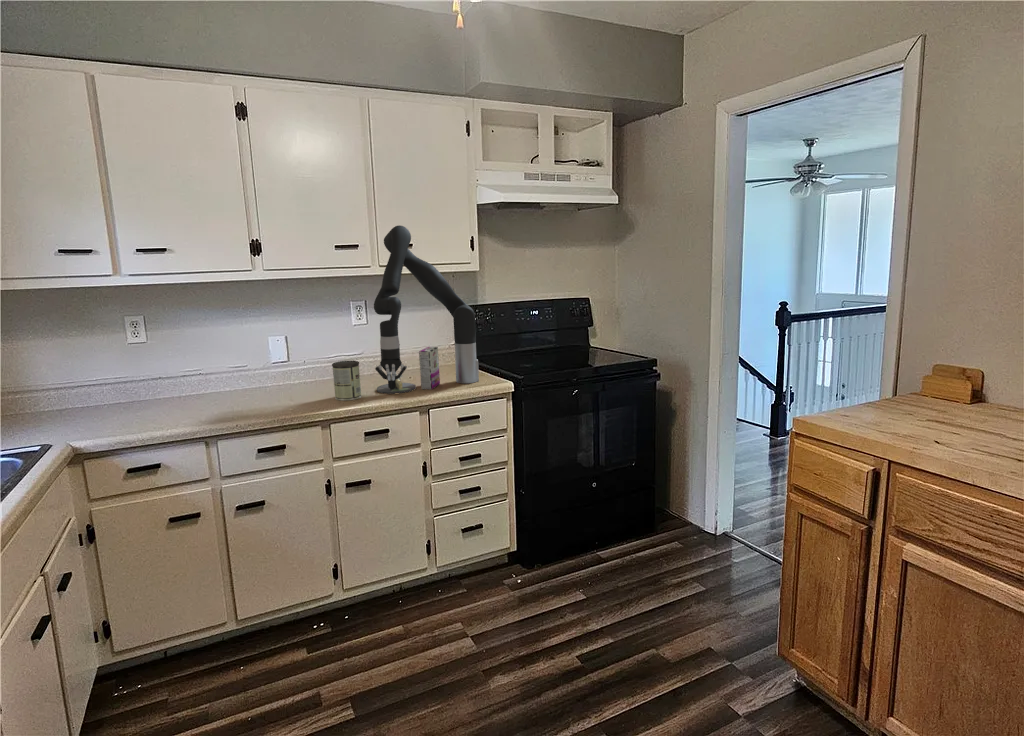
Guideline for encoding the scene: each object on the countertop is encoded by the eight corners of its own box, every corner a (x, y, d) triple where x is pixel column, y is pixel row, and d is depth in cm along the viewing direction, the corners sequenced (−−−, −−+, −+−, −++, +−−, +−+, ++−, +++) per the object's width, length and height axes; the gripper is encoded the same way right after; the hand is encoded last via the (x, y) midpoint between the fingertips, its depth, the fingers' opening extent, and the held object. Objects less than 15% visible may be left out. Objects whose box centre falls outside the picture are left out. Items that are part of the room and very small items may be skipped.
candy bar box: (429, 383, 257) (427, 346, 253) (440, 383, 256) (438, 346, 252) (420, 389, 246) (418, 350, 243) (431, 389, 245) (429, 351, 242)
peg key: (389, 386, 248) (388, 374, 247) (401, 384, 250) (400, 372, 249) (395, 392, 236) (394, 379, 235) (407, 391, 238) (407, 378, 237)
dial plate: (409, 383, 258) (409, 380, 257) (420, 390, 244) (420, 388, 243) (372, 387, 251) (372, 385, 250) (382, 395, 237) (382, 393, 236)
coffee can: (336, 395, 239) (333, 361, 236) (362, 393, 241) (360, 359, 238) (333, 401, 229) (330, 366, 226) (360, 400, 231) (357, 364, 228)
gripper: (371, 348, 232) (374, 391, 235) (405, 348, 232) (407, 390, 236) (375, 345, 239) (377, 387, 243) (407, 345, 240) (409, 386, 243)
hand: (392, 389), depth 239 cm, fingers closed
